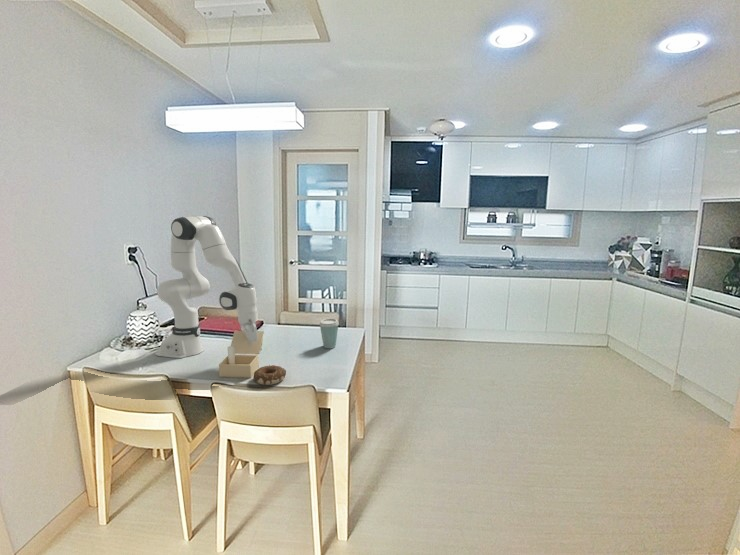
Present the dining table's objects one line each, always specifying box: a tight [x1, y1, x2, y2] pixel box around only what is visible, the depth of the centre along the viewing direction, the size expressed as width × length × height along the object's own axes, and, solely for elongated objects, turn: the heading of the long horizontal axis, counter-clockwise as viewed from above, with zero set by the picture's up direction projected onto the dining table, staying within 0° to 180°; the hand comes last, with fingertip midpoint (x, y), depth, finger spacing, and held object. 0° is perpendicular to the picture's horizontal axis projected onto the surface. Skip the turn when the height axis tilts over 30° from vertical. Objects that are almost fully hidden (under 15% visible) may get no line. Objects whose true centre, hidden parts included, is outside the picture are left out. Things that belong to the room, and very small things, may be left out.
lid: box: [230, 330, 265, 355], centre depth 189 cm, size 14×12×1 cm
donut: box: [252, 364, 287, 386], centre depth 172 cm, size 14×14×5 cm
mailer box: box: [218, 345, 260, 379], centre depth 179 cm, size 14×12×11 cm
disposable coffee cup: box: [319, 317, 340, 349], centre depth 214 cm, size 11×11×15 cm
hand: (249, 345), depth 187 cm, fingers closed, pressing on lid
